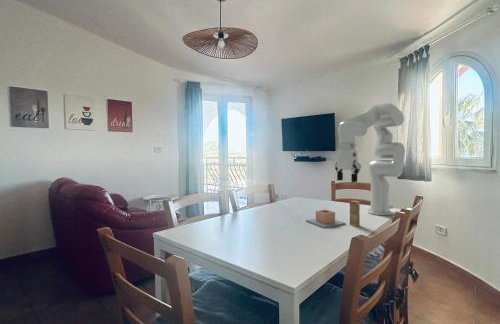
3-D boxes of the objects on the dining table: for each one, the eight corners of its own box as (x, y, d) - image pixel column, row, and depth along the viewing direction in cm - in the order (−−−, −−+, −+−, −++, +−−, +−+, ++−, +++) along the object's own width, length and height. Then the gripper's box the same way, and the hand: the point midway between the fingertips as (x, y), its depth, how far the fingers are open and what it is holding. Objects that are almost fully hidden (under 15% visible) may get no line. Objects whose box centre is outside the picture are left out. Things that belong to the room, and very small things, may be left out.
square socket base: (326, 218, 145) (326, 207, 145) (345, 224, 133) (345, 212, 133) (305, 221, 139) (305, 210, 139) (323, 228, 127) (323, 215, 127)
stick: (354, 223, 133) (354, 200, 133) (359, 225, 131) (359, 201, 130) (349, 224, 132) (349, 201, 132) (354, 226, 129) (354, 202, 129)
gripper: (366, 146, 124) (366, 182, 125) (340, 147, 140) (340, 179, 141) (354, 146, 121) (354, 183, 122) (329, 147, 137) (329, 179, 138)
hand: (346, 181), depth 131 cm, fingers open, 9 cm apart
